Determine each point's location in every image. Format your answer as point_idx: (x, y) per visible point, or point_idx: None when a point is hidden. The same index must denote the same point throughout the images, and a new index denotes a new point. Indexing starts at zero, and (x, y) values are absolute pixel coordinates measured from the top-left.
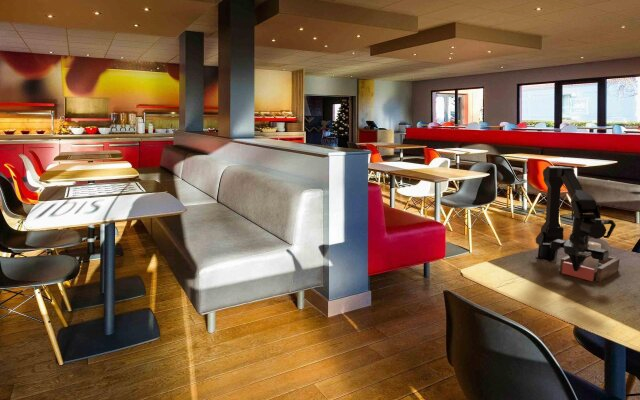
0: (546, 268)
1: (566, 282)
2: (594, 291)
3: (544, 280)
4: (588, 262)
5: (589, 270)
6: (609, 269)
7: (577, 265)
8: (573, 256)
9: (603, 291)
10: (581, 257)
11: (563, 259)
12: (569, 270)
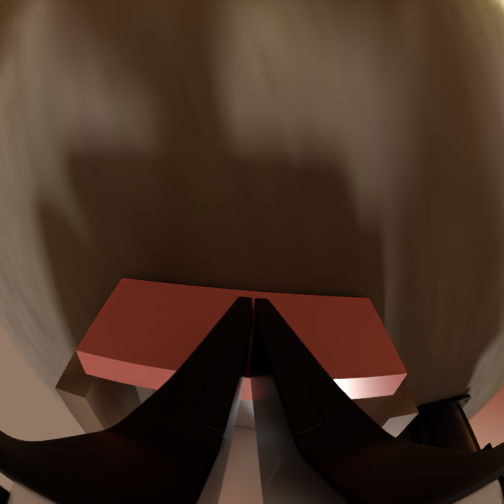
0: (454, 314)
1: (276, 77)
2: (39, 70)
3: (433, 22)
4: (230, 464)
5: (116, 342)
6: None
7: (222, 340)
8: (324, 476)
9: (9, 130)
10: (43, 458)
11: (400, 415)
12: (321, 322)
